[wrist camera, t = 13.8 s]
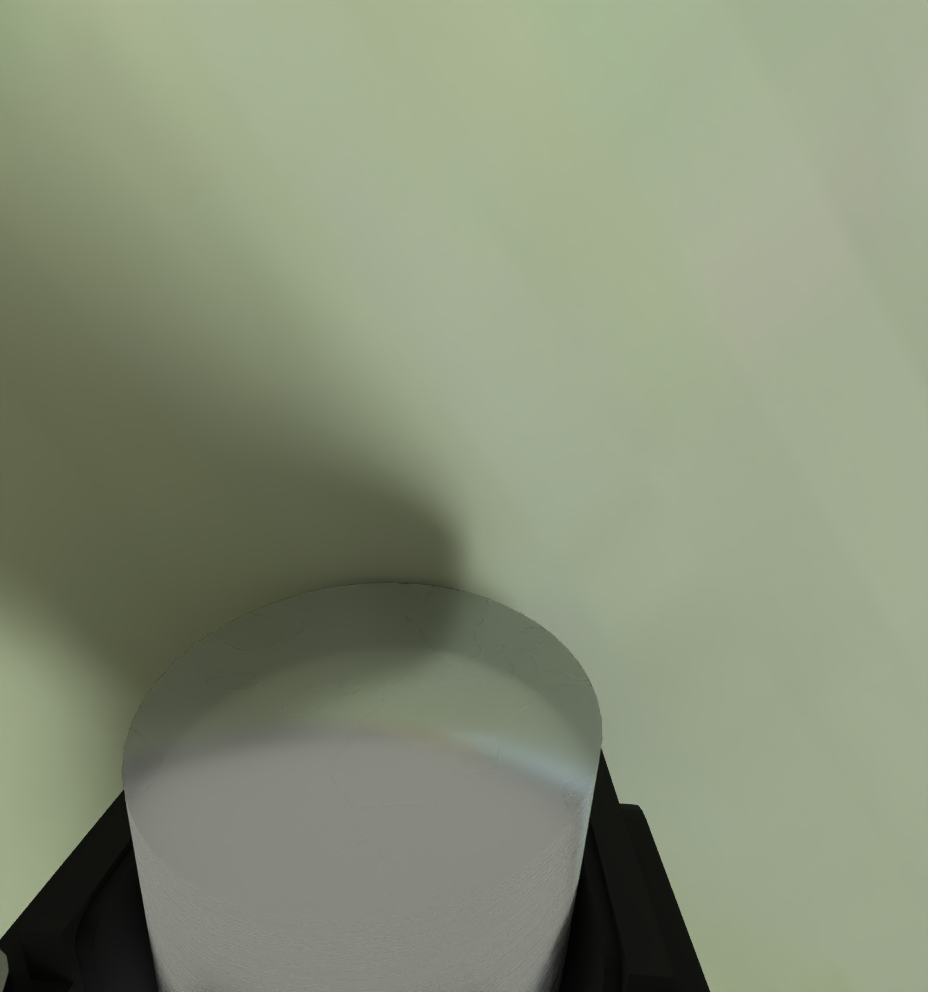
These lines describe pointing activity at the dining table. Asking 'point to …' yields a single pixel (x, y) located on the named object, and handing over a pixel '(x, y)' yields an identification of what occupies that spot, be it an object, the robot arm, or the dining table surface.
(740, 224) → the dining table surface
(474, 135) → the dining table surface
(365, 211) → the dining table surface
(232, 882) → the axle
